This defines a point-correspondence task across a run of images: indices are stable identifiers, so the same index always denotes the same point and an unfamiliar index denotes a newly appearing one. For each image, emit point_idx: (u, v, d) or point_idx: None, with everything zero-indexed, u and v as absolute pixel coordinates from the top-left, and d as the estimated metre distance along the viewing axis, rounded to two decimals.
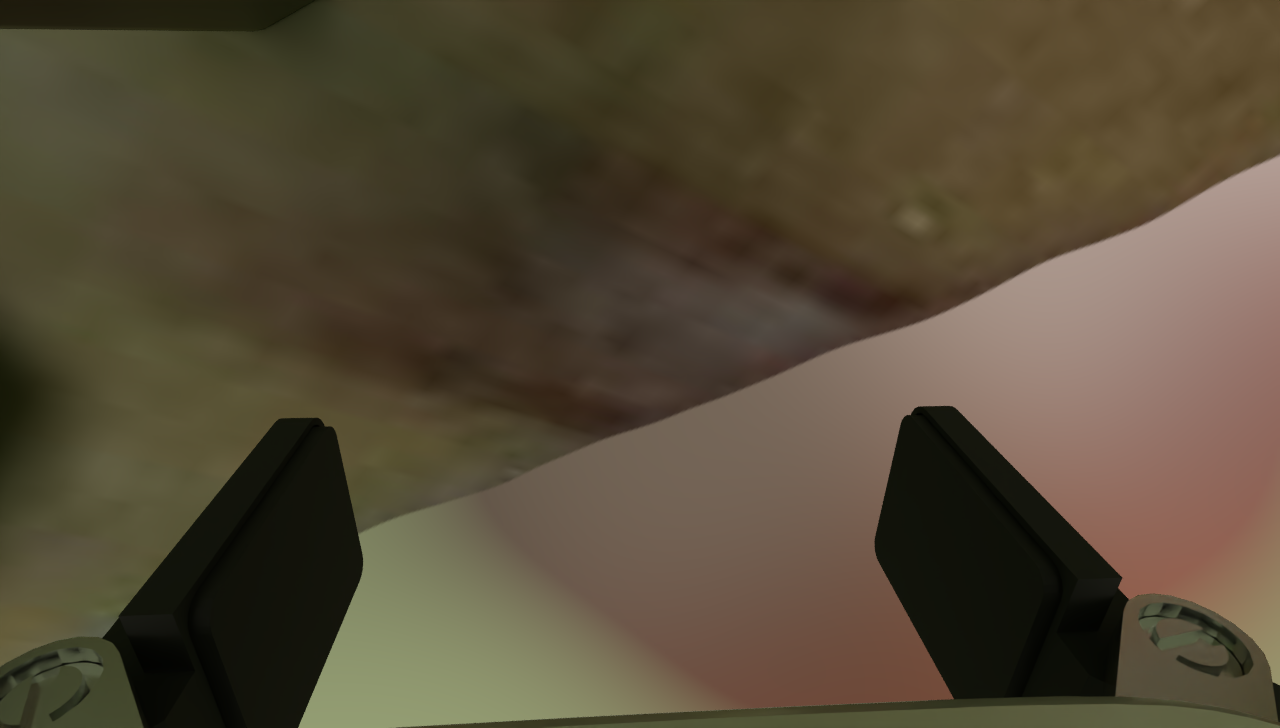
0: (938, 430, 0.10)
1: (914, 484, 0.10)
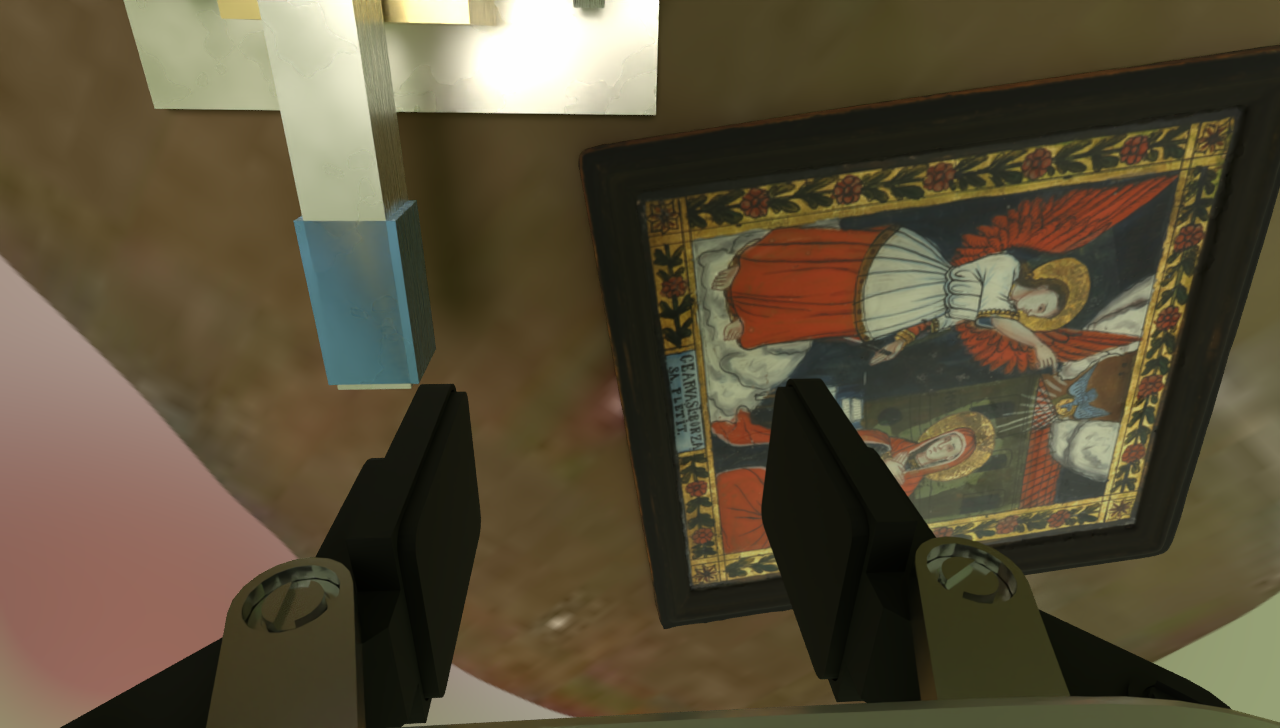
0: (800, 399, 0.11)
1: (782, 450, 0.11)
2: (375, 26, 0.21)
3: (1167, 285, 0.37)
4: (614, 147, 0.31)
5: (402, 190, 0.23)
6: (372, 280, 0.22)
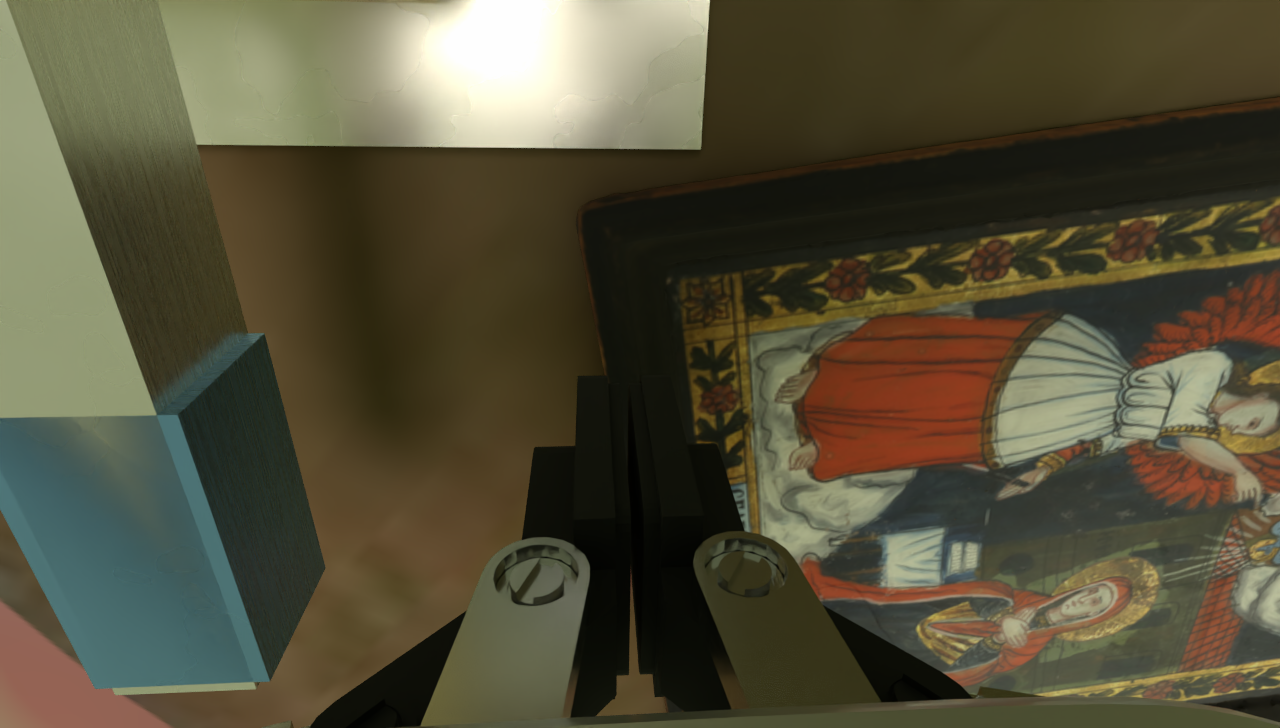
0: (642, 395, 0.11)
1: (630, 446, 0.11)
2: None
3: None
4: (633, 200, 0.19)
5: (226, 322, 0.12)
6: (147, 520, 0.11)
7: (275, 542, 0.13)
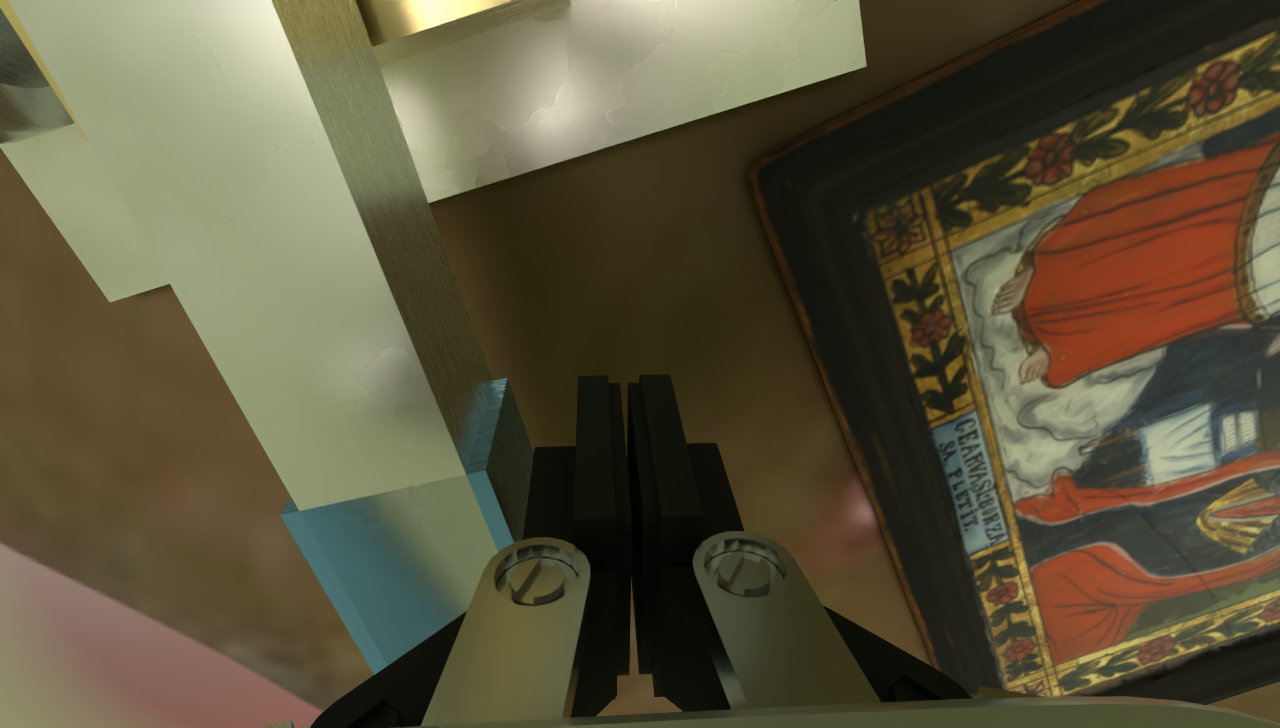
0: (641, 395, 0.11)
1: (630, 446, 0.11)
2: (355, 63, 0.09)
3: None
4: (807, 142, 0.18)
5: (480, 373, 0.12)
6: (462, 581, 0.11)
7: None
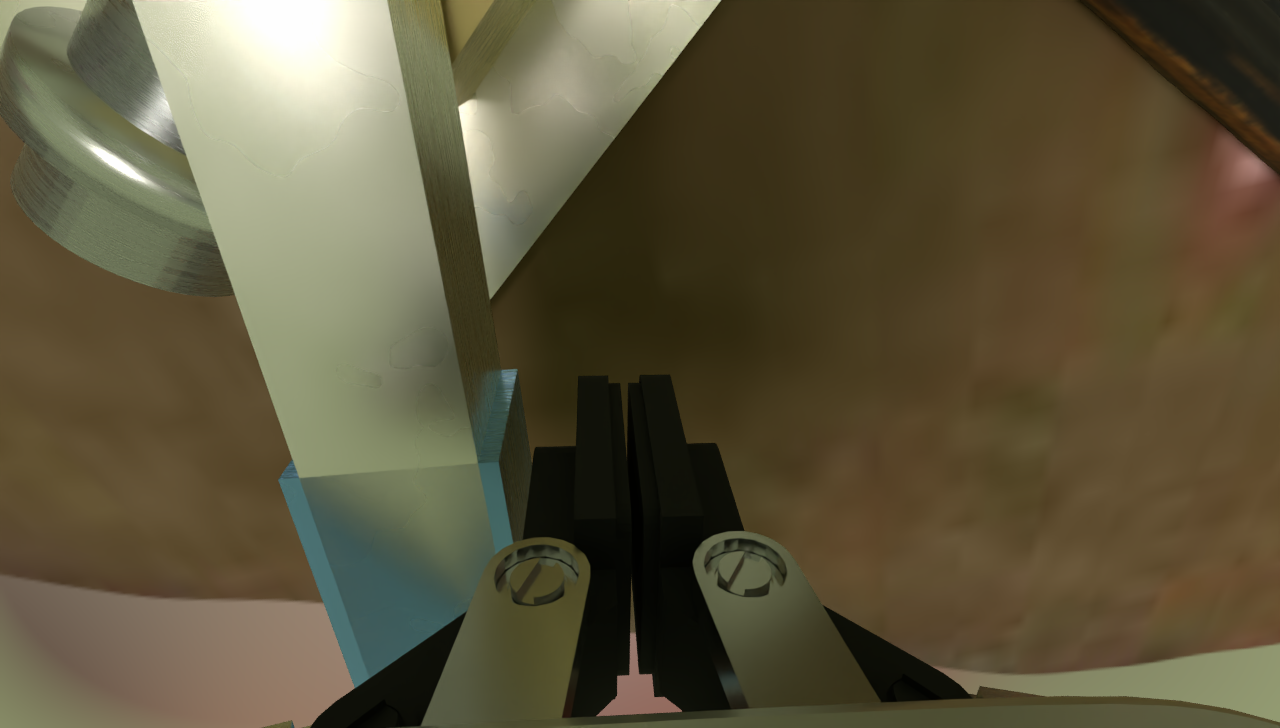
0: (641, 395, 0.11)
1: (630, 446, 0.11)
2: (431, 35, 0.09)
3: None
4: None
5: (494, 361, 0.12)
6: (452, 569, 0.11)
7: None
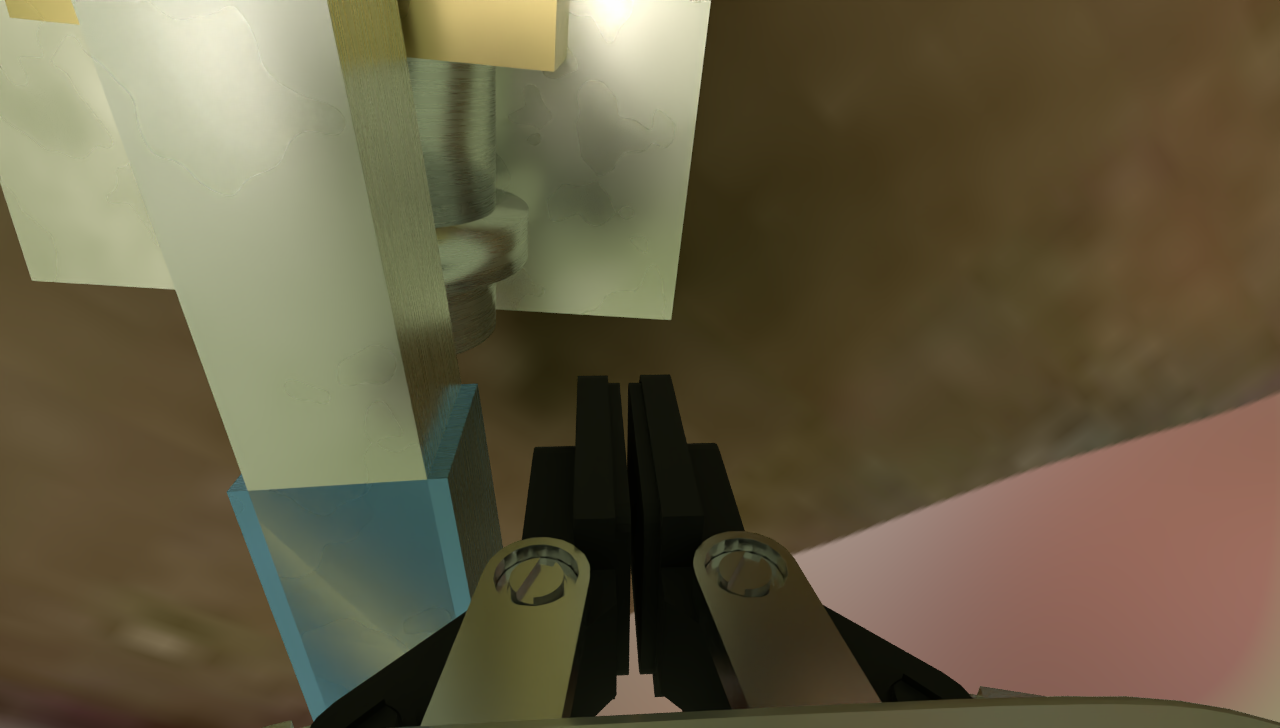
0: (641, 395, 0.11)
1: (630, 446, 0.11)
2: (387, 57, 0.09)
3: None
4: None
5: (452, 376, 0.12)
6: (401, 583, 0.11)
7: None
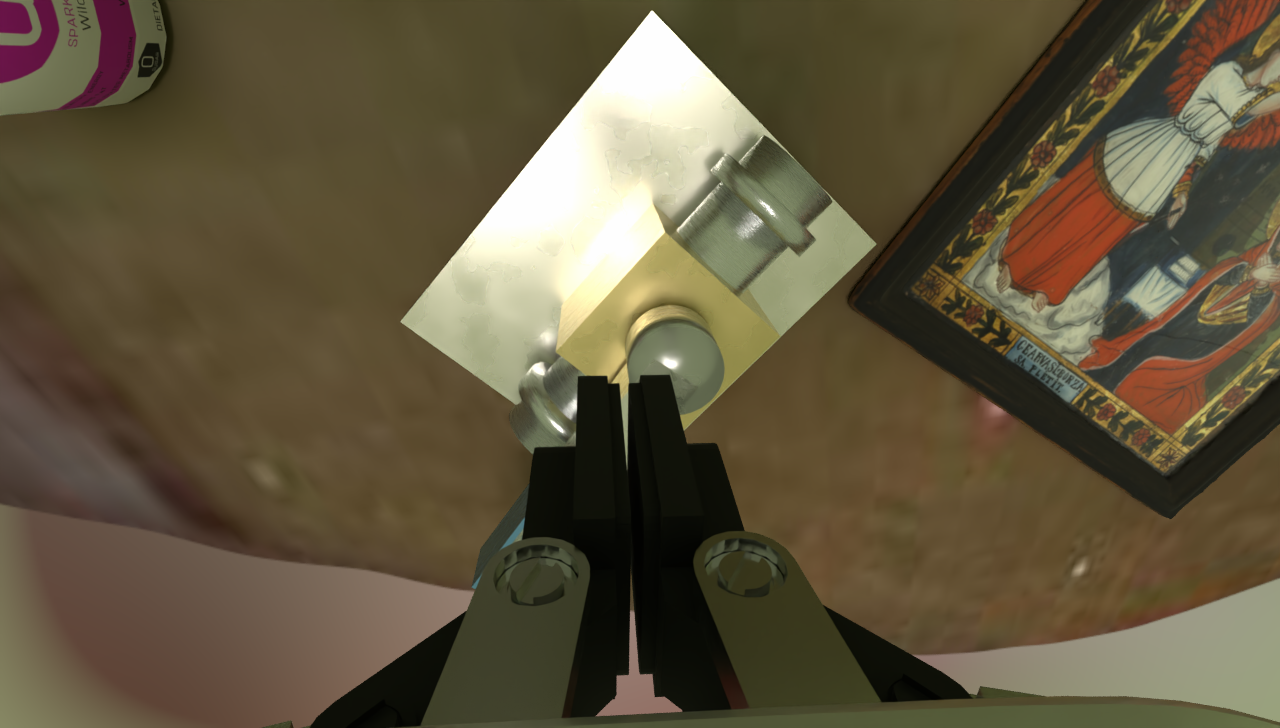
0: (641, 395, 0.11)
1: (630, 446, 0.11)
2: None
3: None
4: (868, 283, 0.40)
5: None
6: None
7: None
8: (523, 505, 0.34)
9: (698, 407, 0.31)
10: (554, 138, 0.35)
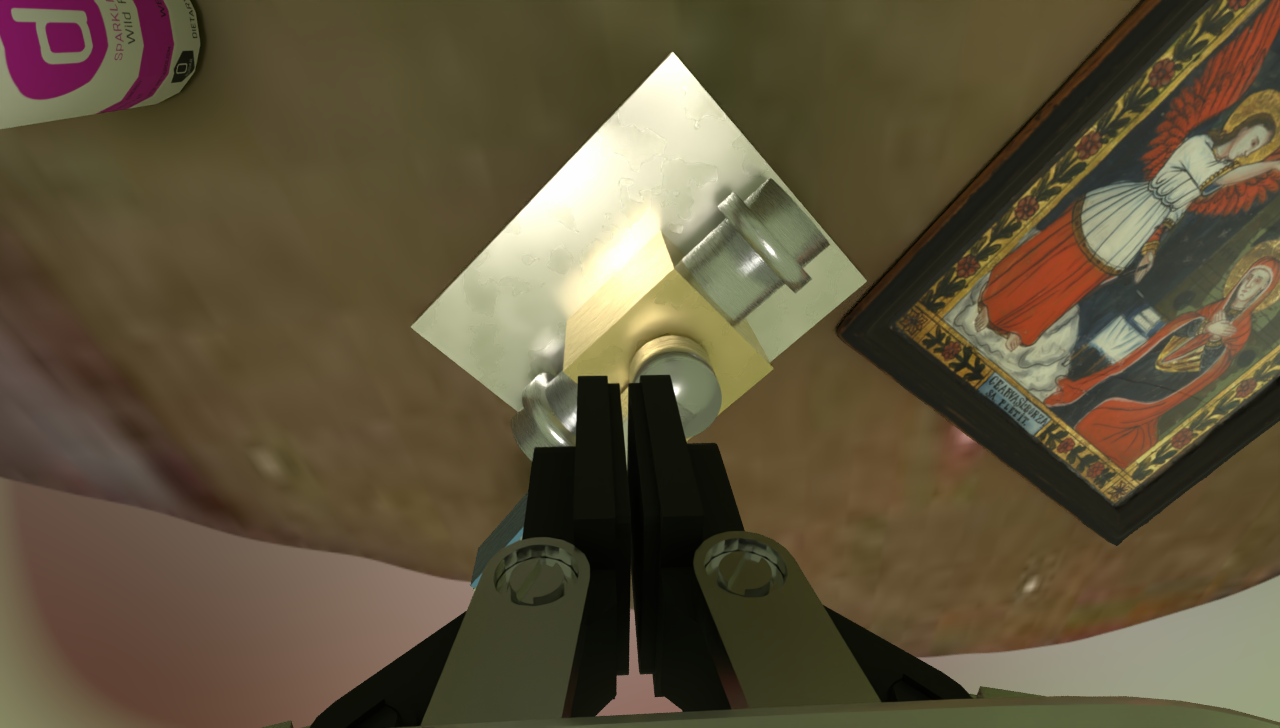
0: (641, 395, 0.11)
1: (630, 446, 0.11)
2: None
3: None
4: (856, 317, 0.42)
5: None
6: None
7: None
8: (523, 512, 0.36)
9: (694, 433, 0.33)
10: (571, 164, 0.37)
